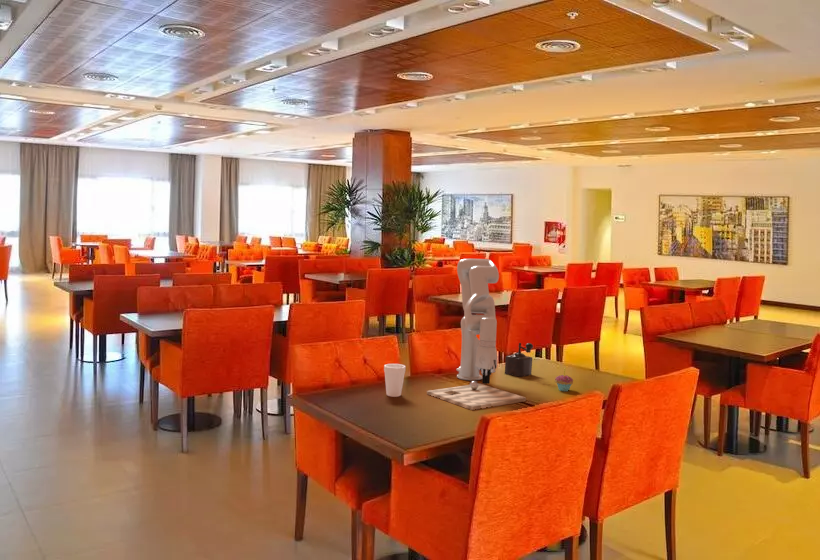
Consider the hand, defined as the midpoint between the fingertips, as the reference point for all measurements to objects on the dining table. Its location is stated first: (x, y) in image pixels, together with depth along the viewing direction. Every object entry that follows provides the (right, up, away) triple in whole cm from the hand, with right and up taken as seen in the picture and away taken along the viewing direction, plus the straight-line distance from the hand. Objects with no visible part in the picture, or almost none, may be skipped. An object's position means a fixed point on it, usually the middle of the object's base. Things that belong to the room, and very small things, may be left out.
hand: (485, 383), depth 326 cm
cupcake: (+38, -5, +10) cm, 40 cm away
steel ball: (-6, 0, -3) cm, 7 cm away
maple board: (-6, -5, -12) cm, 14 cm away
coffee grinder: (+23, -2, +40) cm, 46 cm away
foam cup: (-42, -3, -13) cm, 44 cm away
